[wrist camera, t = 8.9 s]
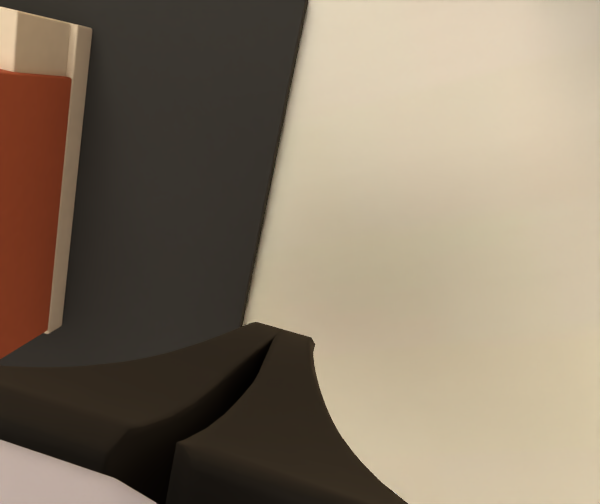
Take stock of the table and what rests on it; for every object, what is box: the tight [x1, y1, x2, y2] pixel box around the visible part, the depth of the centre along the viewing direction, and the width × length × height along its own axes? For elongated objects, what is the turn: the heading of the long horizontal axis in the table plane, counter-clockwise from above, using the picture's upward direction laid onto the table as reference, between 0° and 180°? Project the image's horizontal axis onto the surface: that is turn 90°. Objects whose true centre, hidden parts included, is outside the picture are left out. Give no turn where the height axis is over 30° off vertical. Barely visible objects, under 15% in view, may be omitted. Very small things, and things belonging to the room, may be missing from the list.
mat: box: [0, 0, 308, 367], centre depth 23 cm, size 18×16×1 cm
